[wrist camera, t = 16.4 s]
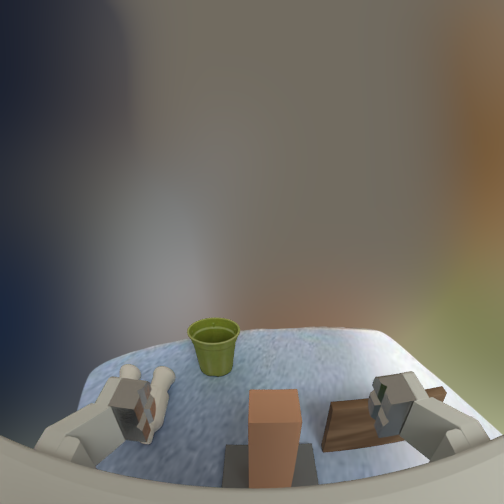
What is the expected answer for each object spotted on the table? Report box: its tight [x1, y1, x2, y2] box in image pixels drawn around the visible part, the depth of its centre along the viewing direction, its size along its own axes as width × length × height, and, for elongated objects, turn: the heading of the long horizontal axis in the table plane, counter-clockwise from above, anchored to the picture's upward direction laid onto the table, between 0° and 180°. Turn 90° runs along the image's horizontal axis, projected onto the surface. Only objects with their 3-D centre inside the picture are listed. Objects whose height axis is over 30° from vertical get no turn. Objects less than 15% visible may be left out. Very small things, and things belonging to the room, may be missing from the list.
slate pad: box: [222, 443, 319, 488], centre depth 33 cm, size 12×12×1 cm
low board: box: [321, 386, 447, 452], centre depth 37 cm, size 2×17×9 cm, turn 89°
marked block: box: [248, 389, 302, 488], centre depth 31 cm, size 5×5×14 cm
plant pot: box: [187, 318, 240, 377], centre depth 57 cm, size 9×9×9 cm
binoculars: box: [120, 364, 175, 444], centre depth 44 cm, size 10×16×5 cm, turn 3°
